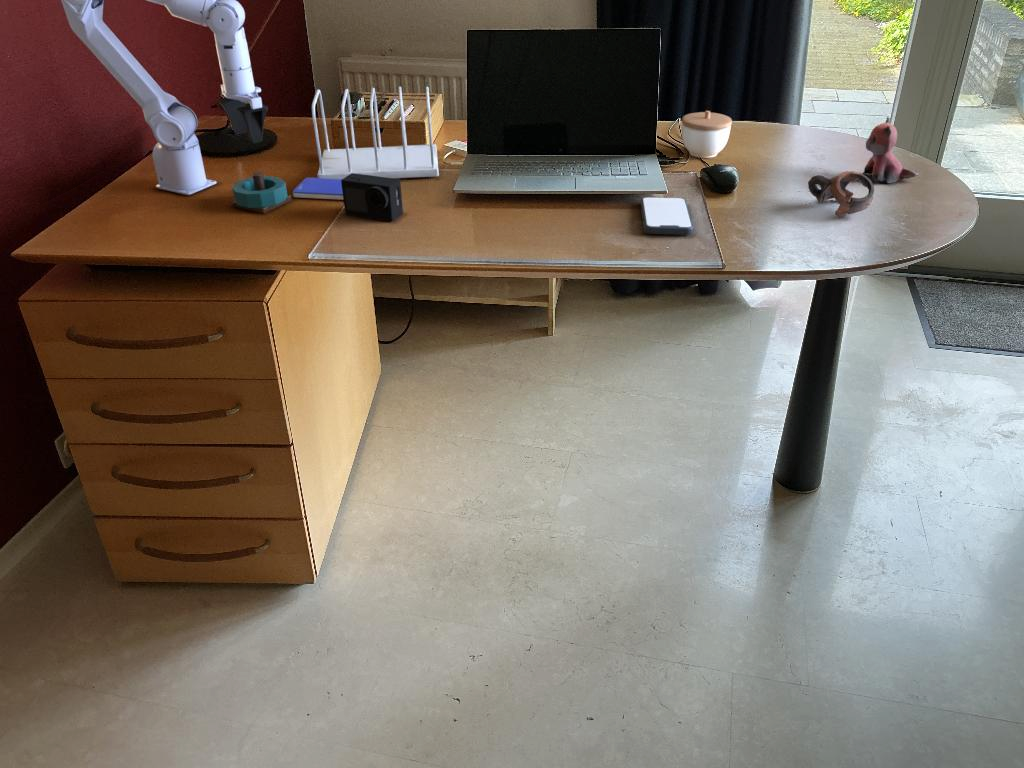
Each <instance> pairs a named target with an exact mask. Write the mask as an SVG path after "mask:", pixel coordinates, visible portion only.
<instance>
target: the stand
mask: <svg viewBox="0 0 1024 768" xmlns="http://www.w3.org/2000/svg"><path fill="white" fill-rule="evenodd" d="M263 176H264V173H263V172H259V171H258V172H257V171H256V172H254V173H252V174H251V178H253V182H254V188H255V191H260V190H265V184H264V178H263ZM291 201H292V196H291V195H290V194H287V197H286V199H285V201H283V202H281V203H279V204H277V205H273V206H268V207H263V208H247V207H243V206H239V205H237V203H236V202H235V201H234V200H233V201H232V207H234V208H237V209H242V210H246V211H250V212H254V213H255V212H256V213H259V214H263V215H264V214H267V213H269V212H270V211H272V210H274V209H276V208H279V207H281V206H283V205H285V204H287V203H289V202H291Z"/></svg>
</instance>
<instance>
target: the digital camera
mask: <svg viewBox="0 0 1024 768" xmlns="http://www.w3.org/2000/svg"><path fill="white" fill-rule="evenodd" d="M401 183H402V182H401V178H386V177H379V176H371V175H363V174H355V173H351V174H350V175H348V176H347V177H345V178H343V179H342V180H341V184H342V192H343V200H342V201H343V206H344V214H345V215H346V216H353V217H359V218H366V219H371V220H377V221H378V220H379V221H385V222H394V221H396V220H397V219H398V218H399V217H401V216H402V215H403V214H404V209H403V197H402V185H401Z"/></svg>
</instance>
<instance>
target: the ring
mask: <svg viewBox="0 0 1024 768" xmlns="http://www.w3.org/2000/svg"><path fill="white" fill-rule="evenodd" d="M263 178H264V184H265V190H260V191H255V188H254V182H253V177H248V178H244V179H241V180H239V181H236V182H235V183H234V184H233V186H232V187H231V190H232V196H233V201H235V202H236V203H237V205H239V206H243V207H247V208H263V207H268V206H273V205H277V204H279V203H281V202H283V201H285V199H286V197H287V195H288V190H287V185H286V181H285V180H283V178H281V177H276V176H271V175H269V176H267V175H265V176H264V175H263Z"/></svg>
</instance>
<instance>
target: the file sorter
mask: <svg viewBox="0 0 1024 768" xmlns="http://www.w3.org/2000/svg"><path fill="white" fill-rule="evenodd" d="M402 90H403V89H402V86H398V98H399V100H398V101H399V111H400V112H399V113H400V126H401V139H402V145H392V146H390V145H389V146H382V141H381V131H380V123H379V112H378V104H377V103H378V101H377V93H376V89H375V87H371V90H370V91H371V92H370V96H369V97H370V98H369V117H370V124H371V132H372V133H371V134H372V141H373V146H371V147H356V141H355V139H356V138H355V132H354V123H353V114H352V106H351V97H350V96H351V95H350V91H349V89H348V88H345V89H344V93H343V96H342V100H341V107H340V108H341V110H340V112H341V122H342V131H343V138H344V144H345V148H332V149H330V143H329V136H328V130H327V129H328V128H327V123H326V115H325V110H324V103H323V96H322V92H321V90H320V89H316V91H315V94H314V96H313V99H312V103H311V116H312V125H313V130H314V136H315V143H316V149H317V156H318V162H319V168H318V171H317V178H324V179H343V178H345V177H347V176H348V175H350V174H351V173H355V174H363V175H371V176H379V177H386V178H393V179H408V178H432V177H439V176H440V174H439V173H440V172H439V162H438V161H439V160H438V150H437V144H436V143H433V129H432V117H431V115H432V114H431V104H430V103H431V102H430V90H429V86H426V87H425V95H426V96H425V100H426V111H427V113H426V114H427V124H428V126H427V127H428V137H429V138H428V139H429V144H412V145H408V142H407V133H406V130H407V129H406V121H405V112H404V101H403V91H402ZM318 100H319V106H320V113H321V119H322V126H323V132H324V140H325V146H326V149H323V153H322V151H321V145H320V139H319V137H320V136H319V132H318V124H317V118H316V104H317V101H318ZM346 102H347V109H348V118H349V126H350V135H351V144H352V147H351V148H349V140H348V132H347V124H346V115H345V106H346ZM373 107H374V108H373ZM374 116H375V117H374ZM374 119H375V120H374ZM375 126H376V127H375ZM377 142H378V144H377Z"/></svg>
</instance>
